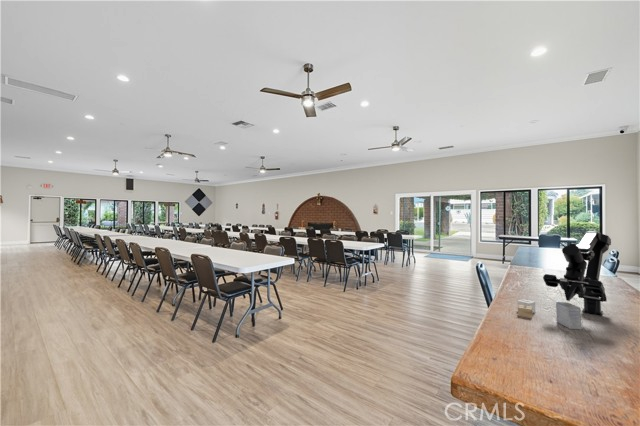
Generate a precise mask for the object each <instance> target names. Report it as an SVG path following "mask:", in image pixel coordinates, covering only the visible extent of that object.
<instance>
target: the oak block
mask: <svg viewBox="0 0 640 426" xmlns="http://www.w3.org/2000/svg"><path fill="white" fill-rule="evenodd" d="M533 314H534V313H532V307H530V306H524V305H519V306H518V305H517V316H518V317H523V318H529V319H532V318H533V316H534V315H533Z"/></svg>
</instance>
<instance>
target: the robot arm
mask: <svg viewBox="0 0 640 426" xmlns="http://www.w3.org/2000/svg"><path fill="white" fill-rule="evenodd" d="M611 245H612V238H611V237H610V236H609V235H607V234H604V233H601V232H600V231H590V230H589V231H584V236H583V237H582V239H581V240H580V241H579V243H569V245H566V246H564V247H563V248H562V249H561V251H562V255H563V257H564V258H565V261H566V262H567V263H568V265H567V267H566V268H565V271H566V272H565V274H564V275H563V277H560V278H557V275H554V274H548V273H545V274H543V277H542V279H543V281H544V283H545V285H546V286H547V287H550V288H557V287H558V286H560V288H561V290H562V291H563V292H564V296H565V300H566V301H567V302H568V301H569V302H570V301H571V300H572V299H573V298H574V297H575V296H576V295H577V297H578V298H579V299H583V308H582V310H581V313H587V314H593V315H597V316H598V315H599V316H603V314H604V313H603V310H602V303H603V302H606V303H607V298H608V297H607V295H606V292H605V291H606V289H605V287H604V286H605V285H604V283H603V282H602V280H600V274H601V268H602V262H603V255H604V254H605V253H606V252H608V251H609V248H610V246H611ZM585 273H586V274H585Z"/></svg>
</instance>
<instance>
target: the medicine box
mask: <svg viewBox="0 0 640 426" xmlns="http://www.w3.org/2000/svg"><path fill="white" fill-rule="evenodd" d="M555 303H556V304H555V306H556V307H555V312H556V322H557V323H558V324H560V325H561V326H564V327H566V328H567V329H569V330H579V331H580V330H582V328H583V327H582V310H581V307H579V306H577V305H575V304H572V303H569V302H568V301H567V302H566V301H556V302H555Z"/></svg>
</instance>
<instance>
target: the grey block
mask: <svg viewBox="0 0 640 426" xmlns="http://www.w3.org/2000/svg"><path fill="white" fill-rule="evenodd" d="M519 305H524V306H530V307H532V313H533V314H535V313H536V301H533V300H527V299H518V300H517V307H518V306H519Z"/></svg>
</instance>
